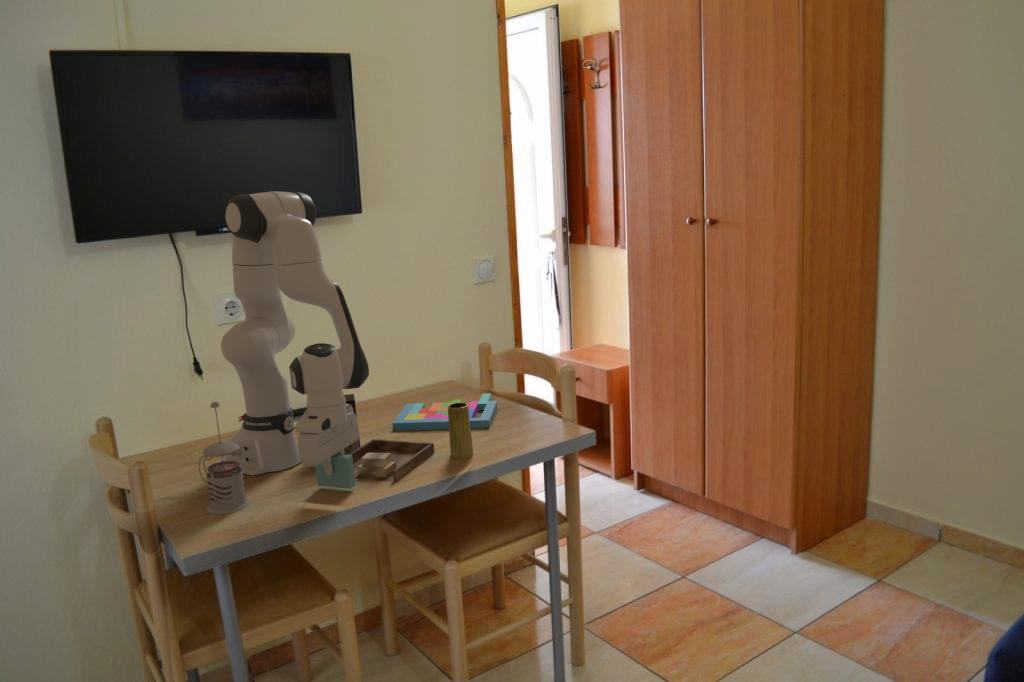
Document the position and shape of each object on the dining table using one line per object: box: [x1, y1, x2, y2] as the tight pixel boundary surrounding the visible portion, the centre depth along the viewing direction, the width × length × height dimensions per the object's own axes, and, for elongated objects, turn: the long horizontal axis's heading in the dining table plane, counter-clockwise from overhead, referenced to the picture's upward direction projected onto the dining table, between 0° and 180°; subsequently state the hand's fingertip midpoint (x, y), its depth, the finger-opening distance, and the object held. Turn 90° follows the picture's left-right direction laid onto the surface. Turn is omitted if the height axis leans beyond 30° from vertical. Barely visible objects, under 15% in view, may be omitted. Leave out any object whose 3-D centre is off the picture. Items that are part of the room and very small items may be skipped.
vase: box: [448, 401, 474, 460], centre depth 220 cm, size 6×6×14 cm
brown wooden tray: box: [349, 438, 435, 483], centre depth 218 cm, size 18×21×4 cm
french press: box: [197, 401, 252, 515], centre depth 198 cm, size 10×12×25 cm
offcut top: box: [361, 453, 391, 467], centre depth 212 cm, size 6×4×2 cm, turn 77°
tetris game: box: [391, 392, 498, 432], centre depth 260 cm, size 28×3×28 cm
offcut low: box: [357, 462, 397, 478], centre depth 212 cm, size 8×5×2 cm, turn 69°
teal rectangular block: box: [315, 454, 357, 490], centre depth 202 cm, size 9×2×8 cm, turn 69°
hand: (334, 471), depth 202 cm, fingers closed on teal rectangular block, 2 cm apart
